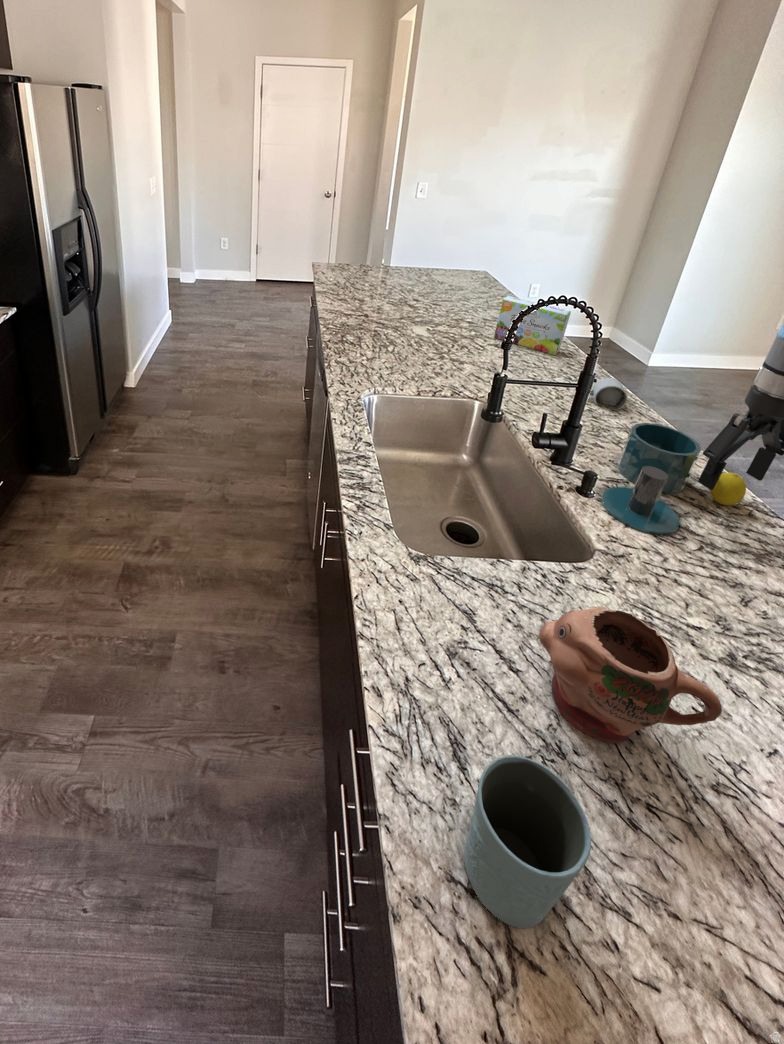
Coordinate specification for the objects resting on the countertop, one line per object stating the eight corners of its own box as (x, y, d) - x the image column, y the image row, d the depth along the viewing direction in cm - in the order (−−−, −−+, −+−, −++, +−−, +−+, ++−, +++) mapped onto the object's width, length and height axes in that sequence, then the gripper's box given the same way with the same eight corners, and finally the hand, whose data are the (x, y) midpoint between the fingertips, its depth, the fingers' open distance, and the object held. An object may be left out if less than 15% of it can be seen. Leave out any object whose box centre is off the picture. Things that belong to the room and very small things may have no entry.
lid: (694, 530, 106) (714, 489, 101) (640, 542, 102) (659, 500, 98) (635, 487, 118) (651, 448, 113) (585, 496, 114) (599, 457, 110)
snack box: (492, 338, 193) (502, 298, 186) (498, 334, 197) (507, 294, 190) (555, 356, 180) (567, 314, 174) (560, 351, 184) (572, 309, 178)
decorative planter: (683, 707, 74) (723, 639, 68) (700, 798, 64) (749, 728, 58) (526, 644, 82) (550, 577, 76) (520, 716, 72) (547, 646, 66)
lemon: (697, 495, 116) (712, 464, 113) (723, 496, 116) (739, 466, 112) (716, 512, 111) (731, 481, 108) (743, 514, 111) (759, 482, 107)
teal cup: (463, 923, 53) (489, 863, 48) (450, 805, 62) (470, 744, 57) (571, 949, 52) (609, 890, 47) (542, 825, 61) (571, 764, 56)
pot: (696, 490, 117) (715, 451, 113) (651, 499, 114) (669, 459, 110) (646, 457, 128) (661, 420, 124) (604, 464, 125) (618, 426, 120)
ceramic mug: (617, 401, 153) (626, 377, 150) (622, 414, 146) (631, 389, 143) (576, 393, 157) (583, 370, 153) (579, 406, 150) (586, 382, 147)
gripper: (801, 376, 108) (754, 462, 117) (708, 388, 102) (667, 477, 111) (845, 394, 102) (792, 484, 111) (749, 408, 95) (702, 501, 104)
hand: (729, 481), depth 111 cm, fingers open, 13 cm apart
